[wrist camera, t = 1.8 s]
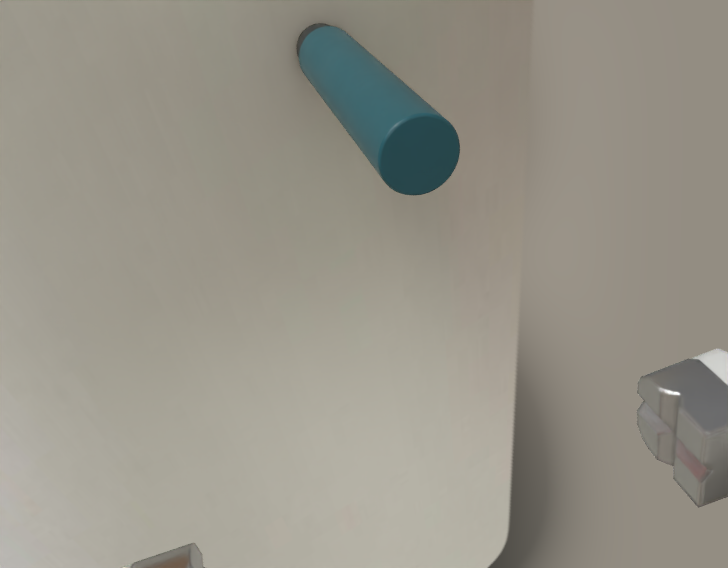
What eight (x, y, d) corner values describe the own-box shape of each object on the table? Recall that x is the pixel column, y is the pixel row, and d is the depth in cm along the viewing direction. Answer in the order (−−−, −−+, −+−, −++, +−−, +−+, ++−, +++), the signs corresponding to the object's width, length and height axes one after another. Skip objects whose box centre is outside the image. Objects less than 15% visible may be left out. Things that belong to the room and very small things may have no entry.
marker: (328, 6, 29) (438, 96, 18) (356, 55, 30) (474, 164, 20) (280, 39, 29) (362, 147, 18) (311, 86, 30) (403, 212, 20)
